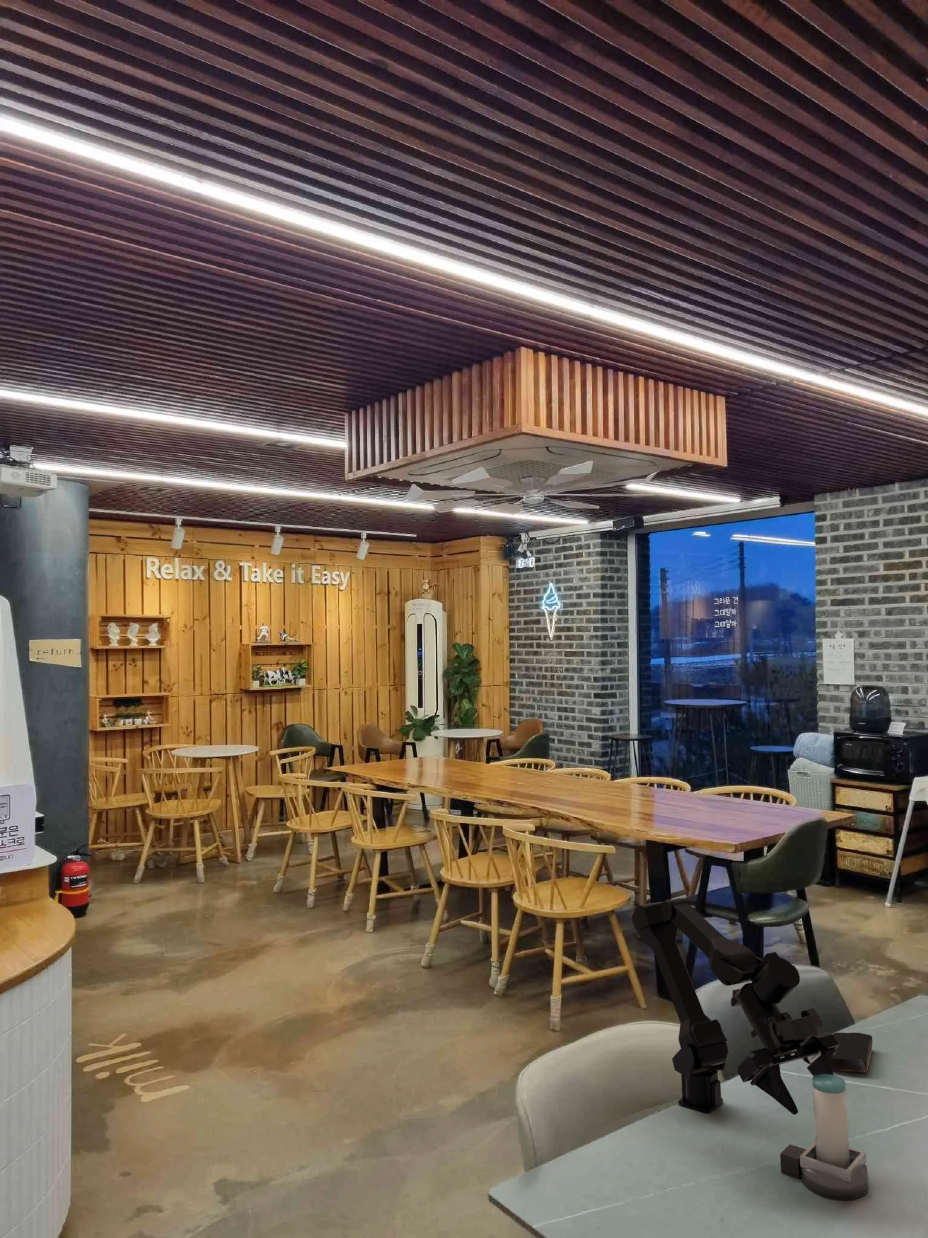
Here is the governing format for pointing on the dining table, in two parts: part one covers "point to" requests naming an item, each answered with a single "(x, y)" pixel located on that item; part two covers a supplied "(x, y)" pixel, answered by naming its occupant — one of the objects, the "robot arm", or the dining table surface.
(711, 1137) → the dining table surface
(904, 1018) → the dining table surface
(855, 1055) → the black sponge
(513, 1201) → the dining table surface
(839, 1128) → the beige teal capped bottle
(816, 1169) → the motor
